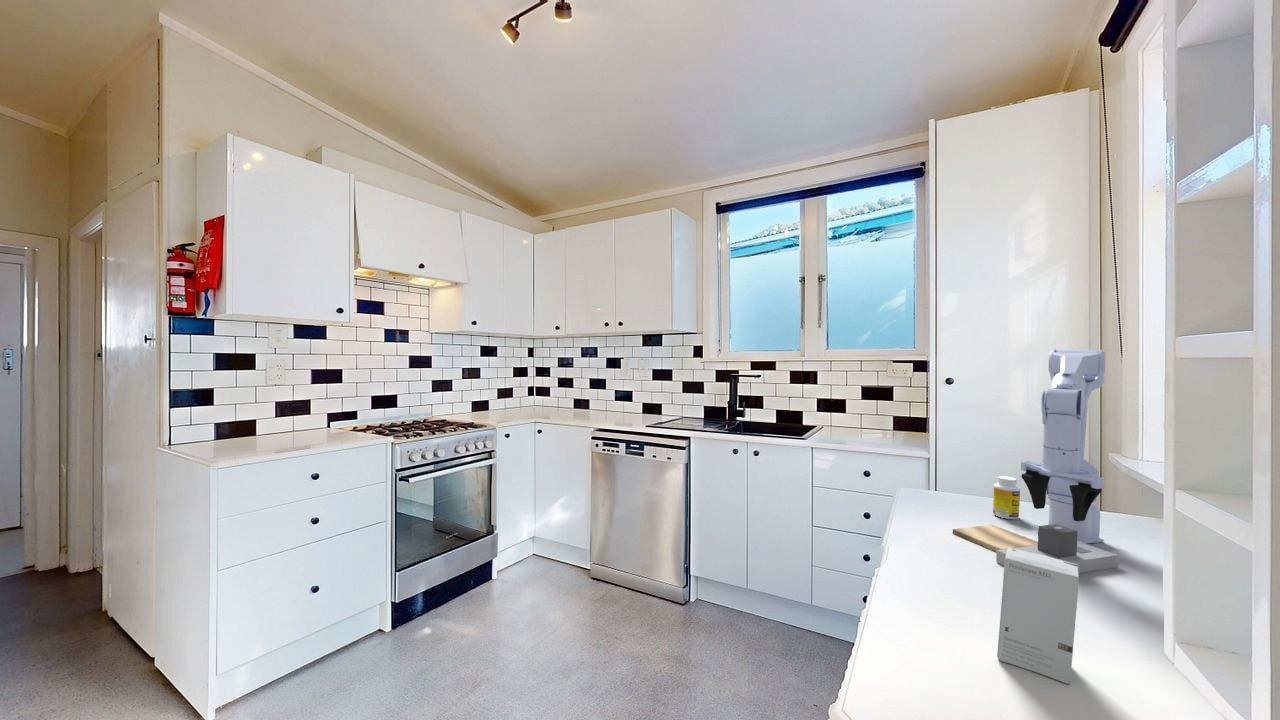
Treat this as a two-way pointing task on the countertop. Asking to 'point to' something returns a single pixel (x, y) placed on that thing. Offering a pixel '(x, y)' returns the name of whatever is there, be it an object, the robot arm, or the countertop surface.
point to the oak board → (994, 537)
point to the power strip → (1075, 557)
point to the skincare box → (1038, 613)
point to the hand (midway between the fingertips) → (1058, 514)
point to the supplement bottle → (1006, 498)
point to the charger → (1057, 540)
